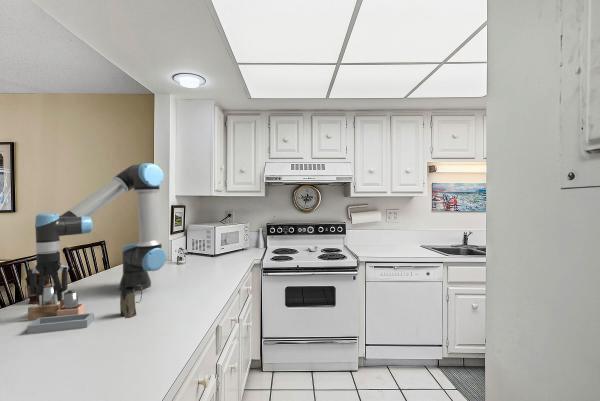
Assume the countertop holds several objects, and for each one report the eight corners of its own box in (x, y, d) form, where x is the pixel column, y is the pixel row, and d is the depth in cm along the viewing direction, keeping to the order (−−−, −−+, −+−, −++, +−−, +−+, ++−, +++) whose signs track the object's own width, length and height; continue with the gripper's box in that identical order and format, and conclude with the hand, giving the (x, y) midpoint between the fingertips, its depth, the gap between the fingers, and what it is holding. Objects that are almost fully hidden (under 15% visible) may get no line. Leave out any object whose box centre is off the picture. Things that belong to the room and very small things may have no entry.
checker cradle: (69, 310, 137) (69, 296, 137) (60, 319, 127) (59, 303, 127) (38, 313, 134) (38, 298, 134) (26, 322, 124) (26, 306, 124)
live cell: (58, 308, 134) (57, 282, 133) (54, 312, 129) (53, 285, 129) (46, 309, 132) (45, 283, 132) (40, 313, 128) (40, 286, 128)
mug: (118, 318, 127) (118, 288, 127) (122, 313, 133) (122, 284, 133) (140, 316, 129) (140, 286, 129) (143, 312, 135) (143, 283, 135)
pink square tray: (84, 315, 131) (84, 303, 131) (78, 321, 125) (78, 308, 125) (64, 317, 129) (64, 305, 129) (57, 324, 123) (56, 310, 122)
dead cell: (79, 315, 130) (79, 288, 130) (75, 319, 125) (75, 291, 125) (67, 316, 128) (66, 289, 128) (62, 320, 124) (62, 292, 124)
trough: (94, 321, 125) (93, 312, 125) (87, 329, 118) (87, 320, 118) (38, 327, 120) (38, 318, 120) (27, 335, 112) (27, 326, 112)
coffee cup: (35, 305, 144) (34, 276, 144) (20, 304, 146) (19, 275, 146) (53, 299, 153) (53, 272, 153) (39, 298, 154) (38, 271, 154)
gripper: (76, 249, 137) (78, 304, 137) (26, 251, 132) (28, 309, 132) (69, 252, 129) (71, 310, 130) (16, 255, 124) (18, 315, 125)
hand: (49, 309), depth 131 cm, fingers closed on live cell, 4 cm apart
